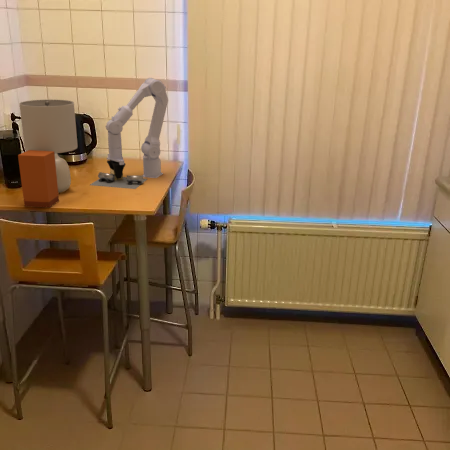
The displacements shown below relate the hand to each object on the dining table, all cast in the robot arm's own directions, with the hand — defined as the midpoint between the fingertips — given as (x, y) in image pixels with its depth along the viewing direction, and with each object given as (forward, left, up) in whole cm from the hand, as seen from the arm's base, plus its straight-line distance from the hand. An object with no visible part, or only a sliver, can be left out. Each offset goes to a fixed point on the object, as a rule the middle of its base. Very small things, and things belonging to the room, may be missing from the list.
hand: (116, 176), depth 224 cm
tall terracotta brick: (+38, -15, -2) cm, 41 cm away
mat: (+5, +3, -1) cm, 6 cm away
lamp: (+22, -18, -2) cm, 28 cm away
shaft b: (+5, +11, -1) cm, 12 cm away
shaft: (+5, -3, -1) cm, 6 cm away
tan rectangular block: (0, 0, -1) cm, 1 cm away
